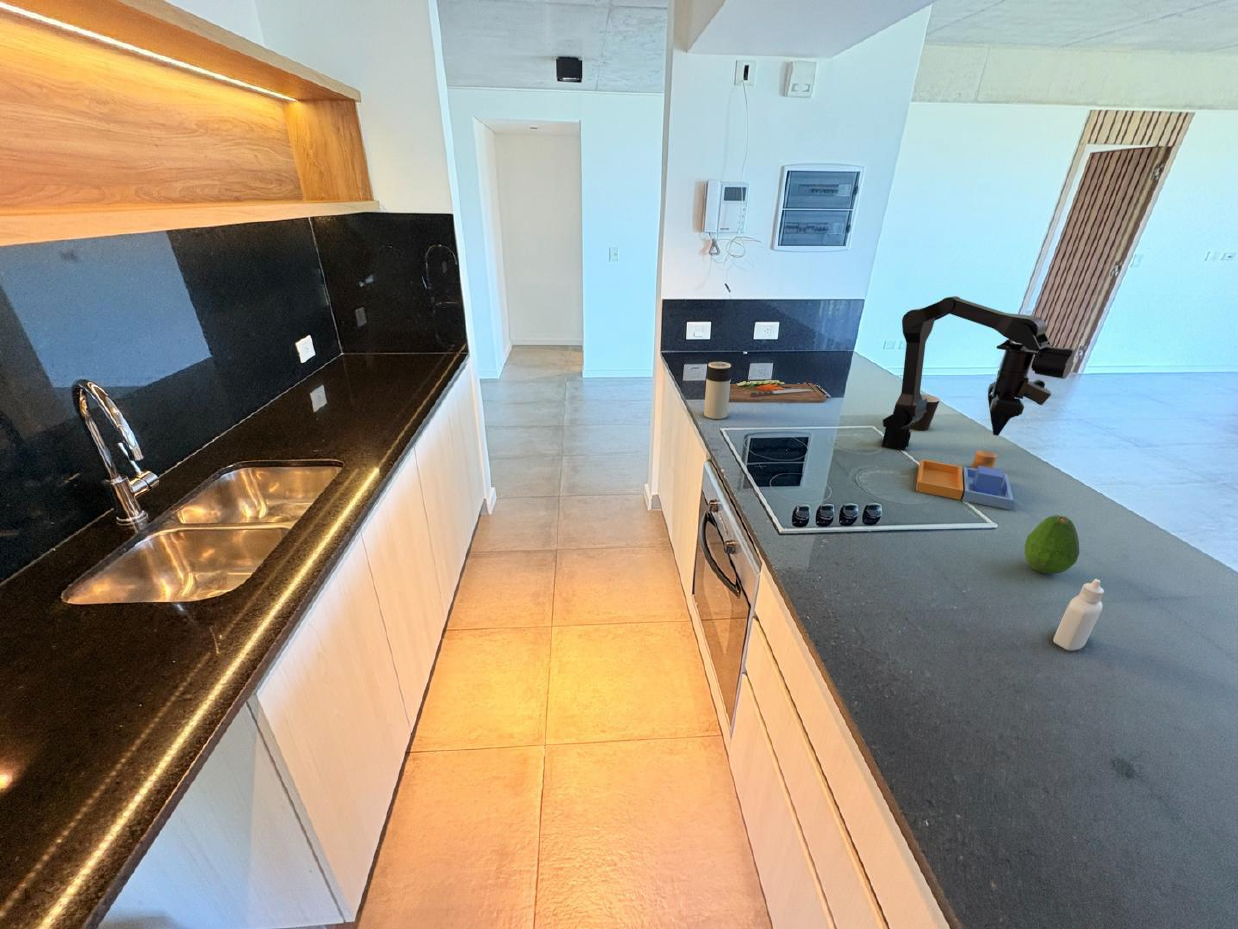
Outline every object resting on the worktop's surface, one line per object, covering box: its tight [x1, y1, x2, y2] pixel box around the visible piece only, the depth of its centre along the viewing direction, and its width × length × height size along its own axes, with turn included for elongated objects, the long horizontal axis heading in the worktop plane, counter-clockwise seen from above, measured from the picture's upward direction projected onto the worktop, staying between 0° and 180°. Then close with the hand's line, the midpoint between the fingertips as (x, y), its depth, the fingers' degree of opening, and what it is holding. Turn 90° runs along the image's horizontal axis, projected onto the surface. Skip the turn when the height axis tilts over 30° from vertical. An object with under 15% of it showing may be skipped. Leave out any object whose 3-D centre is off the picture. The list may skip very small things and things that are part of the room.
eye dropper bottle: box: [1053, 578, 1105, 652], centre depth 82 cm, size 4×6×12 cm
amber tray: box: [915, 458, 963, 501], centre depth 135 cm, size 10×16×3 cm, turn 150°
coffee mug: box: [910, 393, 941, 432], centre depth 171 cm, size 12×9×10 cm
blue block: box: [973, 466, 1004, 496], centre depth 130 cm, size 5×5×5 cm
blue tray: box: [961, 466, 1015, 511], centre depth 130 cm, size 10×16×3 cm, turn 150°
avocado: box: [1024, 514, 1080, 574], centre depth 99 cm, size 8×8×12 cm
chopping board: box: [729, 380, 832, 404], centre depth 207 cm, size 45×27×3 cm, turn 88°
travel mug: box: [703, 361, 732, 420], centre depth 178 cm, size 8×8×18 cm
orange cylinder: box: [971, 449, 998, 469], centre depth 141 cm, size 5×5×5 cm
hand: (994, 429), depth 136 cm, fingers open, 9 cm apart
